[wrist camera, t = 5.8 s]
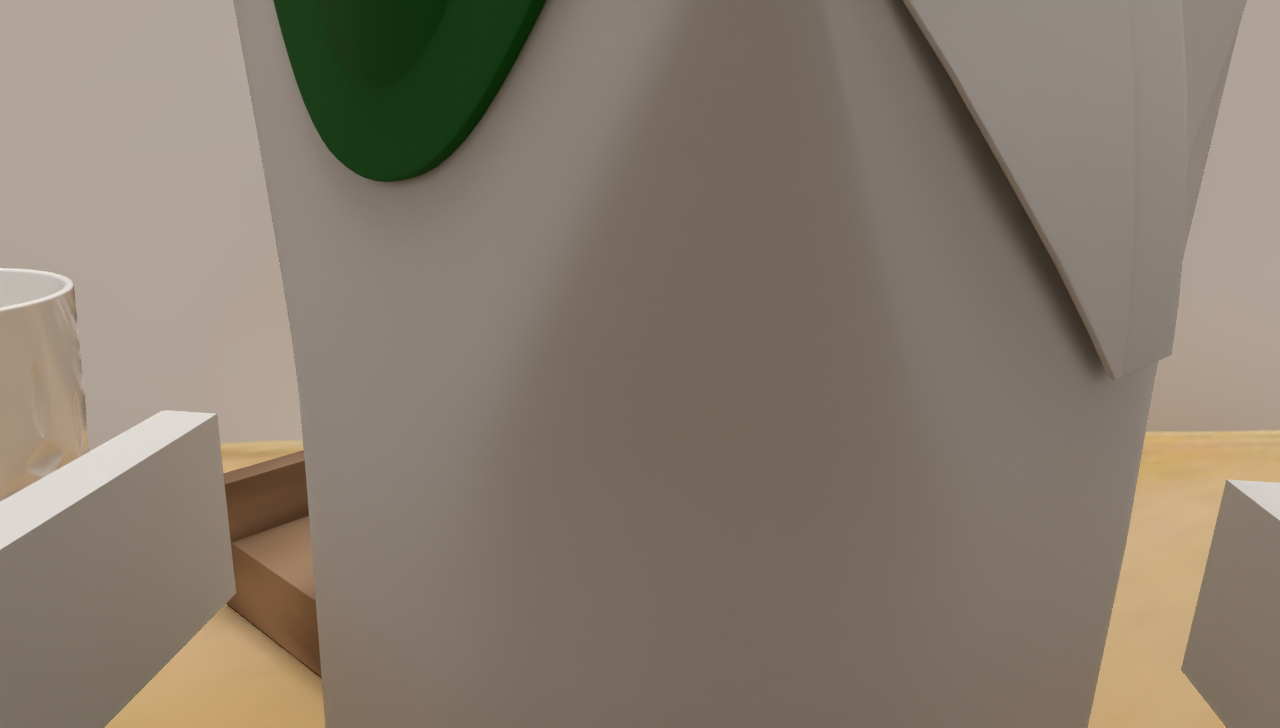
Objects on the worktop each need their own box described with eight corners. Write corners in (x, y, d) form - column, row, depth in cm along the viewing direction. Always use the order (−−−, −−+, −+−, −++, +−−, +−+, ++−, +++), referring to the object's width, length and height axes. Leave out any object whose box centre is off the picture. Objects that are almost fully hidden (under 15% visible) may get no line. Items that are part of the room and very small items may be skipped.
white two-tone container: (281, 1142, 15) (121, -292, 9) (676, 851, 21) (731, -125, 15) (652, 1908, 9) (889, -1024, 3) (1061, 1184, 15) (1406, -253, 9)
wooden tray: (818, 596, 31) (830, 476, 30) (515, 827, 21) (514, 661, 20) (538, 479, 40) (538, 382, 39) (226, 603, 30) (212, 477, 28)
